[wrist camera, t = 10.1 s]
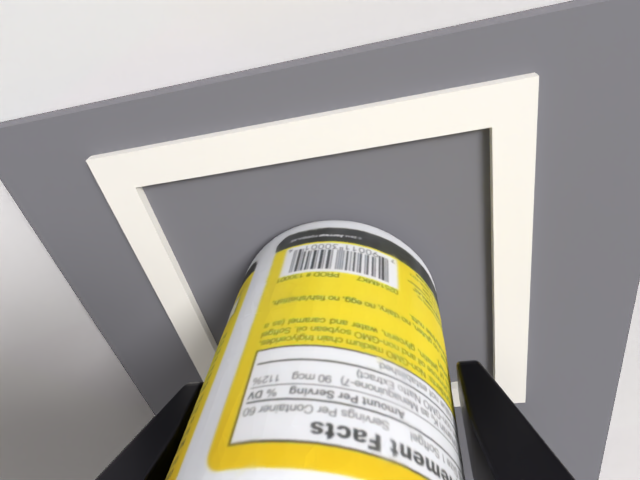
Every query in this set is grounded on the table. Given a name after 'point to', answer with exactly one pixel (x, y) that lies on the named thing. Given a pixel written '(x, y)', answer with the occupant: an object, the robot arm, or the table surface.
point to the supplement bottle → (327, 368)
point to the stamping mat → (372, 200)
